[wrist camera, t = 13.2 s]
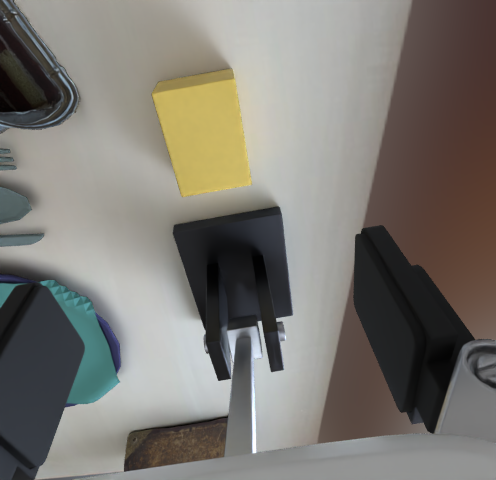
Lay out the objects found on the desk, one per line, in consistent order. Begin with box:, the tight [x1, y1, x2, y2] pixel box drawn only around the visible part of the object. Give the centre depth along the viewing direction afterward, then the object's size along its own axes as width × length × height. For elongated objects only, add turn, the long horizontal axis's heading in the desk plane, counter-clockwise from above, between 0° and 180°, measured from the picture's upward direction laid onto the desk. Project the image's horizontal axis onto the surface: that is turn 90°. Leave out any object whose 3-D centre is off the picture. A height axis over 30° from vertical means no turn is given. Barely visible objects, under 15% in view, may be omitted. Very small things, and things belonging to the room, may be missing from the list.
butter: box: [152, 69, 252, 197], centre depth 24 cm, size 5×7×3 cm
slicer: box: [173, 207, 293, 381], centre depth 29 cm, size 12×9×10 cm
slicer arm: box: [224, 314, 262, 457], centre depth 20 cm, size 16×8×2 cm
